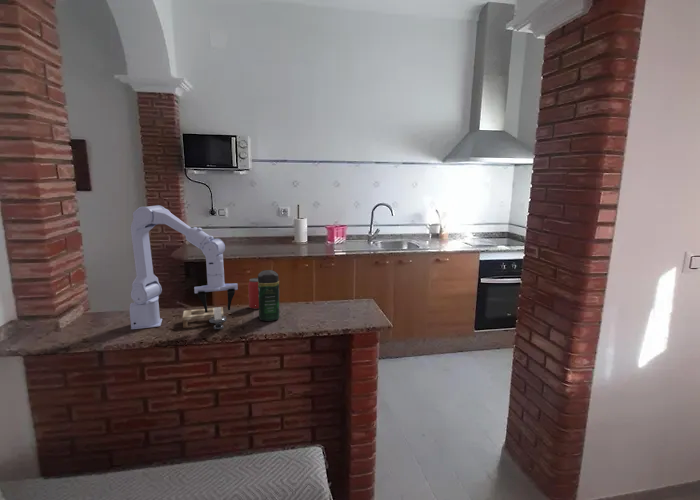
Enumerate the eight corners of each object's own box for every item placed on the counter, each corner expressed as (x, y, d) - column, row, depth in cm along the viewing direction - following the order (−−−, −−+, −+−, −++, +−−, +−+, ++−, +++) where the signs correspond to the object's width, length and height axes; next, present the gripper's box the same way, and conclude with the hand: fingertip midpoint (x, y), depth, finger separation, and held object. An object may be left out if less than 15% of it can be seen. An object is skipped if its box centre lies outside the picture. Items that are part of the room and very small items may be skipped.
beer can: (246, 306, 166) (245, 279, 164) (261, 303, 170) (260, 276, 168) (252, 310, 161) (251, 282, 158) (267, 307, 164) (266, 279, 162)
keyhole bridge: (183, 328, 141) (182, 317, 140) (184, 320, 148) (183, 310, 148) (223, 323, 146) (223, 313, 145) (223, 316, 153) (222, 306, 152)
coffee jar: (280, 321, 149) (279, 273, 145) (259, 322, 147) (257, 274, 143) (278, 312, 158) (277, 268, 155) (258, 314, 156) (256, 269, 153)
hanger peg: (209, 332, 137) (208, 312, 136) (209, 326, 143) (208, 307, 142) (227, 329, 139) (226, 310, 138) (226, 324, 145) (225, 305, 144)
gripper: (193, 277, 132) (195, 316, 134) (237, 274, 136) (239, 311, 139) (193, 273, 138) (196, 310, 140) (236, 270, 143) (238, 305, 145)
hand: (217, 310), depth 140 cm, fingers open, 7 cm apart
